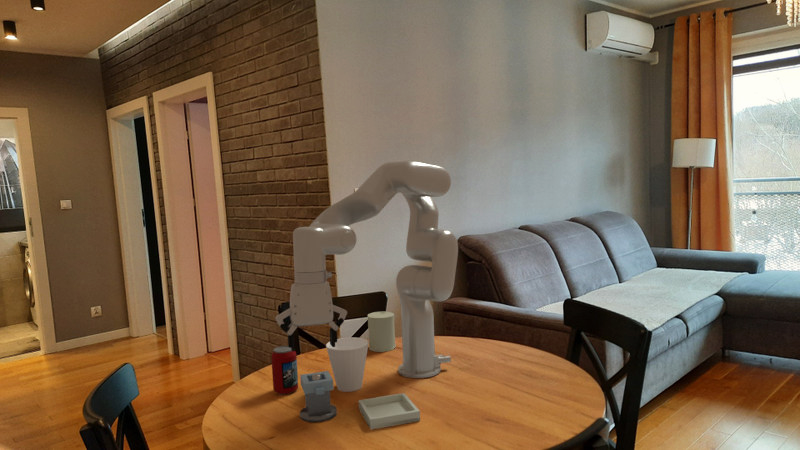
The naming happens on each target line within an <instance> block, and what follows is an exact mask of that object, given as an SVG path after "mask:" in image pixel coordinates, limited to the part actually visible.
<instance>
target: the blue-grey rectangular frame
mask: <svg viewBox="0 0 800 450" xmlns="http://www.w3.org/2000/svg"><path fill="white" fill-rule="evenodd" d="M313 374H320V376H321V380H316V381H312V375H313ZM299 378H300V385H301V388H302V392H303V394H304V395H305V394H309V393H315V394H316V395H320V394H324V391H329V390H330V391H333V390H335V388H334V379H333V377H332V376H331V373H330V371H328V370H324V371H318V372H311V373H304V374H300V377H299Z"/></svg>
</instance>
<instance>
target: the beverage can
mask: <svg viewBox="0 0 800 450" xmlns="http://www.w3.org/2000/svg"><path fill="white" fill-rule="evenodd" d="M271 371H272V385H273V392H275V393H277V394H278V395H281V396H283V395H290V394H292V393H294V392H296V391H297V390H298V389H299V377H298V376H299V373H298V358H297V352H296V350H295V351H293V352H292V350H291V347H288V345H280V346H277V347H275V348H274V349H273V351H272V354H271Z"/></svg>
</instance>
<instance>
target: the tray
mask: <svg viewBox="0 0 800 450" xmlns="http://www.w3.org/2000/svg"><path fill="white" fill-rule="evenodd" d="M358 410H359V413H360V414H361V416H362V417H363V419H364V420H365V422H366V424H367V426H368V428H369V429H370V430H375V429H376V430H377V429H382V428H387V427H394V426H399V425H405V424H410V423H417V422H421V411H420V409H419V408H418V407H417V406H416V405H415V403H414V402H413V401H412V400H411V398H409V396H408V395H407V394H406V393H405V392H403V393H401V392H400V393H395V394H388V395H384V396H383V395H382V396H377V397H371V398H365V399H359V400H358Z"/></svg>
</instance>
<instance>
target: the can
mask: <svg viewBox="0 0 800 450" xmlns="http://www.w3.org/2000/svg"><path fill="white" fill-rule="evenodd" d="M367 327H368V342H369V344H368V350H369V351H372V352H375V353H385V351H386V352H391V351H394V350H395V349H396V348H397V347H396V346H397V345H396V336H395V335H396V334H395V333H396V332H395V314H394V312H391V311H374V312H371V313H368V314H367ZM395 347H396V348H395ZM394 348H395V349H394ZM390 350H391V351H390Z"/></svg>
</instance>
